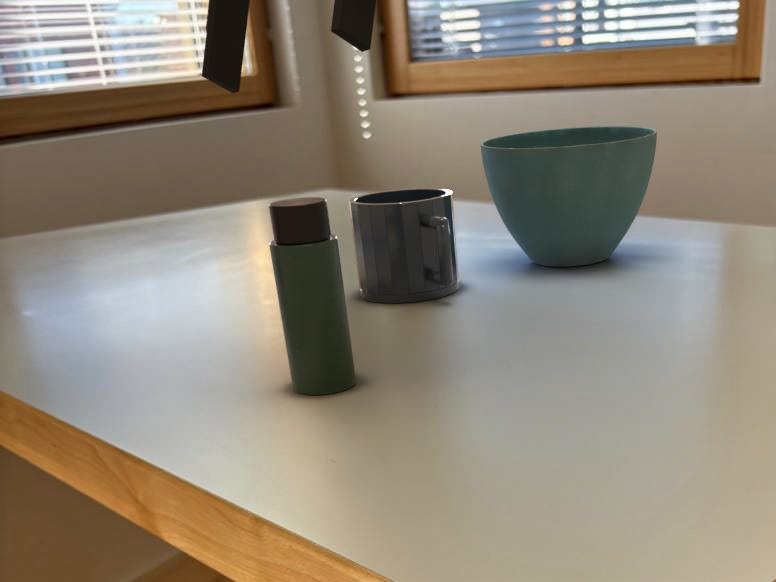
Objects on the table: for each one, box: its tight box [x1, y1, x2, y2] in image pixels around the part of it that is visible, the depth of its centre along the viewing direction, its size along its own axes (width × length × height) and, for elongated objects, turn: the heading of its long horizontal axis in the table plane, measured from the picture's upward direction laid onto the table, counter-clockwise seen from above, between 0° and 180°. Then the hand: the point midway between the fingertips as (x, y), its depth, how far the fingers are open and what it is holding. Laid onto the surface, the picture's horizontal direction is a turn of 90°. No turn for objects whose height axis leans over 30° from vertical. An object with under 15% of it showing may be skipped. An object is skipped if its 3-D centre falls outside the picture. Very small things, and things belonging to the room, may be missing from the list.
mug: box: [348, 187, 460, 304], centre depth 101 cm, size 14×10×9 cm
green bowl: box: [479, 125, 658, 268], centre depth 110 cm, size 18×18×12 cm
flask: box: [268, 196, 357, 396], centre depth 75 cm, size 5×5×13 cm
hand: (281, 64), depth 69 cm, fingers open, 13 cm apart
